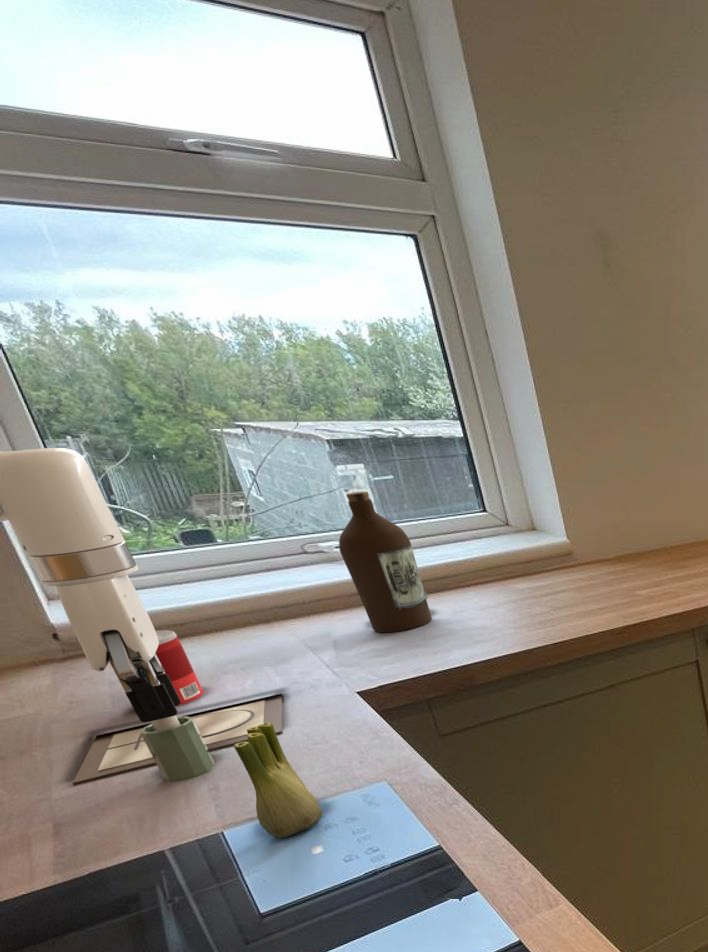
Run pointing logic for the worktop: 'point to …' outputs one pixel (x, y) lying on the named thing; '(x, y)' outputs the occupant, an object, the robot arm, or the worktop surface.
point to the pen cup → (179, 750)
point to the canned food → (176, 666)
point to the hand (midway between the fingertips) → (161, 711)
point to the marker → (165, 723)
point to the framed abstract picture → (214, 726)
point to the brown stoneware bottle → (383, 568)
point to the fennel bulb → (276, 785)
